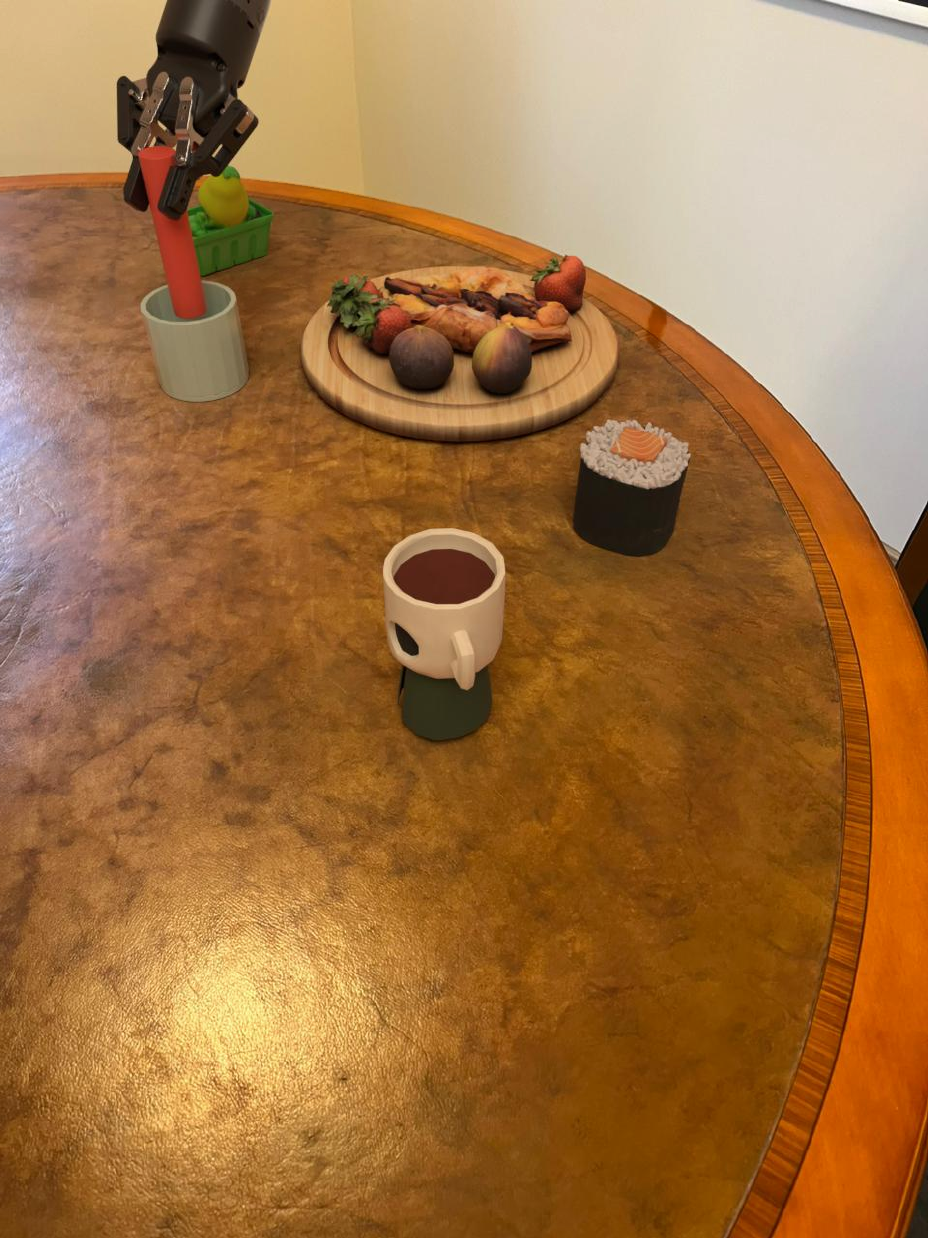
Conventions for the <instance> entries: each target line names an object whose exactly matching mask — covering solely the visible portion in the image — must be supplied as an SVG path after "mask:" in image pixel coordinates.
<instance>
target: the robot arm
mask: <svg viewBox="0 0 928 1238" xmlns="http://www.w3.org/2000/svg"><path fill="white" fill-rule="evenodd" d="M271 1H272V0H166V2H165V4H164V8H163V11H162V15H161V18H160V20H159V23H158V27H157V30H156V32H155V43H156V49H157V57H156V59H155V61H154V62H153V64H152V65H151V67H149V69H148V70H147V73H146V77H144V78H140V79H137V80H134V81H132V80H131V79H130V78H129V77H127V76H126V75H122V76H120V77H119V78H118V79H117V81H116V130H117V131H116V132H117V134H116V135H117V139H116V140H117V143H118V144H120V145H121V146H122V147H124V148H125V149H126V150H127V151H128V152H130V154H131V156H132V160H131V163H130V167H129V169H128V172H127V175H126V179H125V182H124V185H123V189H122V194H123V200H124V203H125V204H127V205H128V206H129V207H131V208H132V209H133V210H135V211H138V212H142V213H145V212H147V210H148V209H149V207H150V205H149V200H148V196H147V192H146V187H145V183H144V179H143V174H142V170H141V165H140V161H139V157H138V153H139V151H141V150H142V149H145V148H148V147H151V144H152V143H153V140H154V138H155V142H154V144H153V146H167V147H171V148H173V149H174V148H175V157H174V162H175V164H176V167H174V166H170V168H169V171H168V174H167V177H166V180H165V183H164V186H163V189H162V192H161V195H160V198H159V201H158V205H157V208H158V211H159V212H161V213H162V214H163V215H165V216H166V217H167V218H169V219H171V220H175V221H178V220H179V219H180V218H181V215H183V214H184V213H185V211H186V210H187V209H188V207H189V203H190V202H191V198H192V195H193V192H194V189H195V186H196V183H197V181H200V180H201V179H202V178H203V177H204V176H207V175H208V176H209V175H212V176H213V177H218V176H220V175H221V174H222V172H223V171H224V170H225V168H226V167H227V166H228V165H229V164H230V163H231V162H232V161H233V159H234V158H235V157H236V155H237V154H238V153H239V151H240V150H241V149H242V148H243V146H244V145H245V144H246V142H247V141H248V139H249V138H250V137H251V135H252V134H253V133H254V131H255V130H256V129H257V128H258V126H259V123H260V122H259V121H260V120H259V118H258V116H257V115H256V114H255V113H254V112H253V111H252V110H251V108H249V106H248V105H247V104H245V103H244V102H243V100H242V99H239V94H238V90H239V89H240V88H242V87H243V86H244V84H245V82H246V79H247V77H248V73H249V70H250V68H251V65H252V62H253V59H254V55H255V53H256V50H257V47H258V44H259V41H260V37H261V34H262V31H263V28H264V25H265V23H266V19H267V16H268V13H269V10H270V6H271ZM159 123H160V124H161V125H162V126H164V127H165V129H163V128H162V127H161V125H160V124H159ZM220 146H221V147H220ZM219 147H220V148H219ZM218 149H219V150H218ZM217 150H218V151H217ZM215 153H216V154H215ZM214 154H215V155H214Z"/></svg>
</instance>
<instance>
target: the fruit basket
mask: <svg viewBox="0 0 928 1238" xmlns="http://www.w3.org/2000/svg"><path fill="white" fill-rule="evenodd" d="M247 191H248V190H247V189H246V186H244V184H243V183H242V182H241V175H240V173H239V170H237V169H236V168H235V167H234V166H232V165H229V164H228V166H227V167H226V168H225V170H224V171H223V172H222V174H221V175H220V176H218V177H213V176H212V175H211V174H209V175H208V177H207V178H206V179H205V180H204V181H203V183H201V184H200V186H199V188H198V190H197V201H198V203H199V204H200V205H198V206H194V207H191V208H187V212H188V217H189V221H190V226H191V231H192V236H193V241H194V246H195V251H196V256H197V261H198V266H199V271H200V276H201V277H205V276H207V275H211V274H213V273H215V272H218V271H222V270H227V269H230V268H232V267H234V266H237V265H241V264H244V263H247V262H250V261H251V260H255V259H259V258H262V257H264V256H267V253H268V247H269V241H270V234H271V226H272V223H273V220H274V215H275V212H274V211H273V210H270V209H268V208H267V207H266V206H264V205H262V204H260V203H259V202H258V201H255V200H254V199H251V198H250V197H249V196H248V192H247Z"/></svg>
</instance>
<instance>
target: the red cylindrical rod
mask: <svg viewBox="0 0 928 1238" xmlns="http://www.w3.org/2000/svg"><path fill="white" fill-rule="evenodd" d="M175 151H176V149H175V148H174V147H173V148H171V147H167V146H154V145H153V146H149V147H148V148H145V149H142V150H141V151H139V153H138V157H139V161H140V165H141V170H142V174H143V179H144V183H145V187H146V192H147V196H148V200H149V209H150V213H151V217H152V222H153V227H154V231H155V235H156V240H157V243H158V248H159V252H160V257H161V262H162V267H163V270H164V271H163V272H164V275H165V279H166V282H167V284H166V285H168V288H169V293H170V297H171V301H172V306H173V310H174V314H175V315H176V316H177V317H179V318H182V319H194V318H198V317H200V316H202V315H204V314H205V313H206V312H207V306H206V301H205V296H204V291H203V286H202V281H201V280H202V276H201V275H200V271H199V266H198V261H197V256H196V251H195V246H194V241H193V236H192V231H191V226H190V221H189V217H188V212H187V210H186V211H185V213H184V214H183V215H181V218H180V219H179V220H178V221H175V220H171V219H169V218H167V217H166V216H165V215H163V214H162V213H161V212H159V211H158V208H157V205H158V201H159V198H160V195H161V192H162V189H163V186H164V183H165V180H166V177H167V174H168V171H169V168H170V166H174V167H176V164H175V162H174V157H175Z"/></svg>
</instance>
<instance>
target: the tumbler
mask: <svg viewBox="0 0 928 1238" xmlns="http://www.w3.org/2000/svg"><path fill="white" fill-rule="evenodd" d="M201 281H202V286H203V291H204V296H205V301H206V306H207V312H206V313H205V314H204V315H202V316H200V317H198V318H194V319H182V318H179V317H177V316H176V315H175V314H174V310H173V306H172V301H171V297H170V293H169V288H168V284H165V285H162V286H159V287H158V288H155V289H154V290H151V291H150V292H148V293H147V294H146V295H145V296H144V297H143V298H142V300H141V303H140V305H139V306H140V312H141V316H142V320H143V324H144V328H145V329H144V330H145V333H146V335H147V340H148V345H149V349H150V352H151V355H152V360H153V364H154V368H155V372H156V376H157V380H158V383H159V386H160V388H161V390H162V391H163V393H164V394H166V395H167V396H169V397H170V398H173V399H175V400H177V401H181V402H182V401H183V402H187V403H188V402H190V403H203V402H204V403H205V402H211V401H216V400H220V399H225V398H227V397H229V396H231V395H233V394H235V393H237V392H238V391H240V390H241V389H242V388H243V387H245V385H246V384H247V383H248V380H249V378H250V370H249V369H250V368H249V364H248V363H249V362H248V357H247V351H246V346H245V339H244V335H243V329H242V323H241V317H240V312H239V306H238V299H237V296H236V293H235V291H234V290H232V289H231V288H230V287H229V286H227V285H224V284H223V283H220V282H216V281H211V280H202V279H201Z"/></svg>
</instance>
